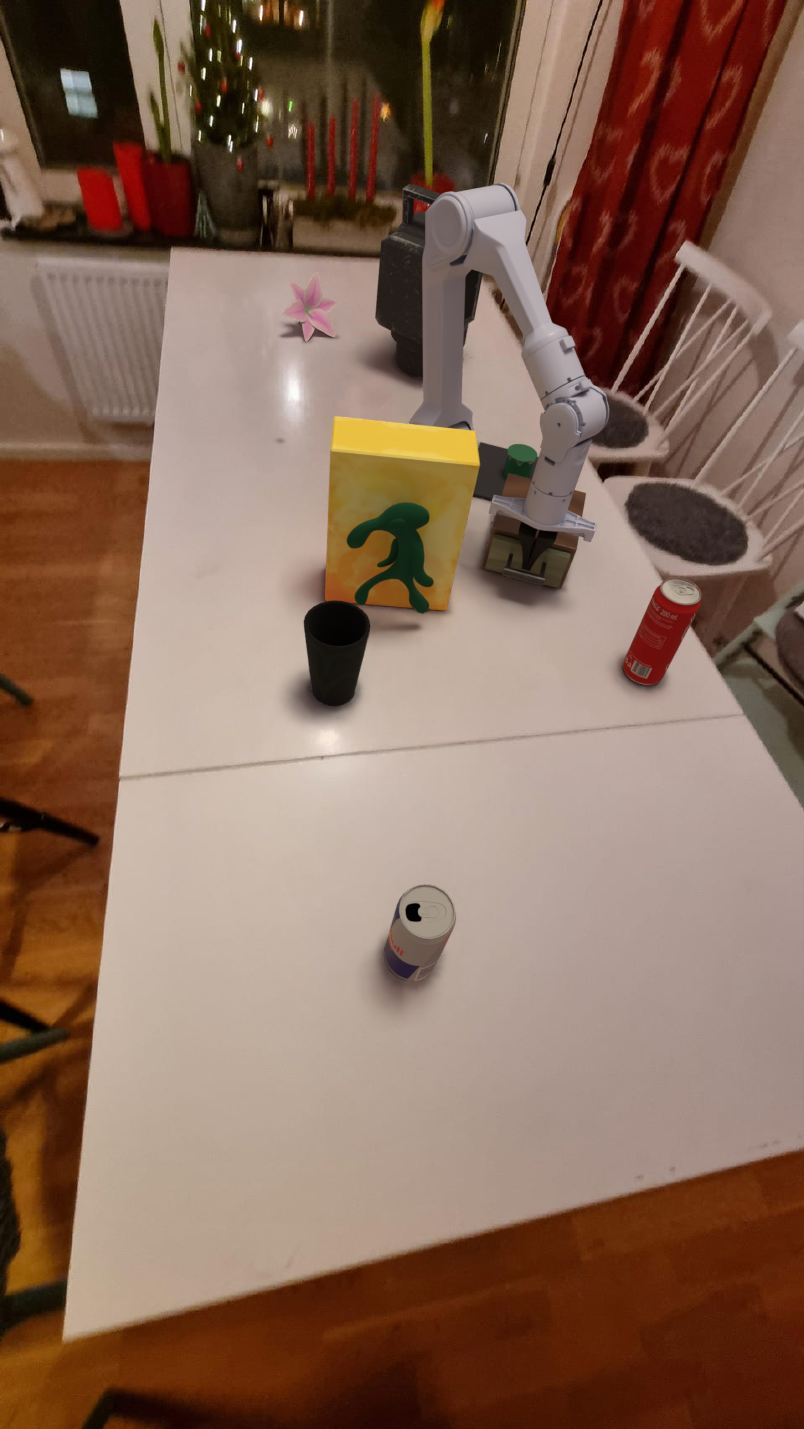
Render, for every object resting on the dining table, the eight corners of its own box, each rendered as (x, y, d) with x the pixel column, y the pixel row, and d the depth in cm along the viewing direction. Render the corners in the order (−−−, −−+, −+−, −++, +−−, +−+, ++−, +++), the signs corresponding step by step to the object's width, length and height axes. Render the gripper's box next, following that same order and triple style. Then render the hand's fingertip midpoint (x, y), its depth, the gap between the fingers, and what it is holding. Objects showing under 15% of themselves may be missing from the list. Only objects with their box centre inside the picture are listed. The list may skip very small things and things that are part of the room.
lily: (273, 343, 144) (288, 309, 135) (273, 296, 146) (288, 260, 138) (327, 361, 149) (345, 329, 141) (327, 315, 152) (344, 282, 144)
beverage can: (662, 691, 96) (713, 613, 84) (615, 680, 96) (660, 601, 84) (661, 660, 99) (710, 581, 87) (616, 650, 99) (658, 569, 87)
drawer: (554, 608, 102) (566, 578, 97) (479, 587, 103) (487, 557, 98) (568, 535, 113) (579, 505, 108) (500, 517, 114) (508, 486, 109)
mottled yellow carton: (322, 628, 95) (327, 475, 76) (327, 567, 103) (333, 415, 84) (448, 637, 97) (483, 490, 78) (444, 577, 104) (476, 430, 85)
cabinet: (561, 588, 106) (576, 549, 100) (481, 567, 107) (492, 527, 101) (571, 532, 115) (586, 492, 109) (497, 512, 116) (508, 472, 110)
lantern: (473, 364, 146) (506, 193, 122) (429, 396, 136) (456, 218, 112) (412, 339, 149) (433, 168, 126) (366, 368, 139) (379, 190, 116)
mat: (462, 493, 118) (462, 490, 117) (479, 444, 128) (480, 442, 127) (554, 517, 117) (555, 514, 116) (564, 466, 126) (565, 463, 126)
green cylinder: (505, 484, 120) (511, 461, 116) (498, 467, 123) (504, 443, 119) (533, 485, 121) (541, 461, 117) (526, 467, 124) (533, 444, 120)
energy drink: (381, 930, 71) (394, 882, 61) (433, 928, 72) (453, 880, 62) (385, 984, 68) (399, 942, 58) (439, 981, 68) (461, 940, 59)
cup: (317, 720, 86) (319, 655, 76) (293, 676, 90) (293, 609, 80) (373, 701, 89) (382, 637, 79) (348, 659, 92) (353, 593, 83)
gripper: (610, 483, 93) (578, 563, 103) (505, 454, 94) (484, 536, 105) (605, 511, 88) (572, 592, 99) (495, 481, 90) (474, 564, 100)
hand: (526, 565), depth 101 cm, fingers closed, pressing on drawer
